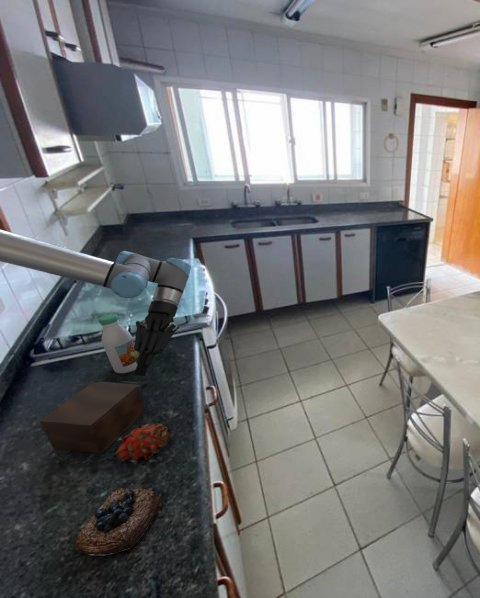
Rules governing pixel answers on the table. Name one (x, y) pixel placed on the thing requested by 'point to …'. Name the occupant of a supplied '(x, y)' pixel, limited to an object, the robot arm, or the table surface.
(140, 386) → the drawer
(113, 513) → the pastry
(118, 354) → the milk bottle
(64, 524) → the table surface
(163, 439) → the dragon fruit
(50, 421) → the cabinet
